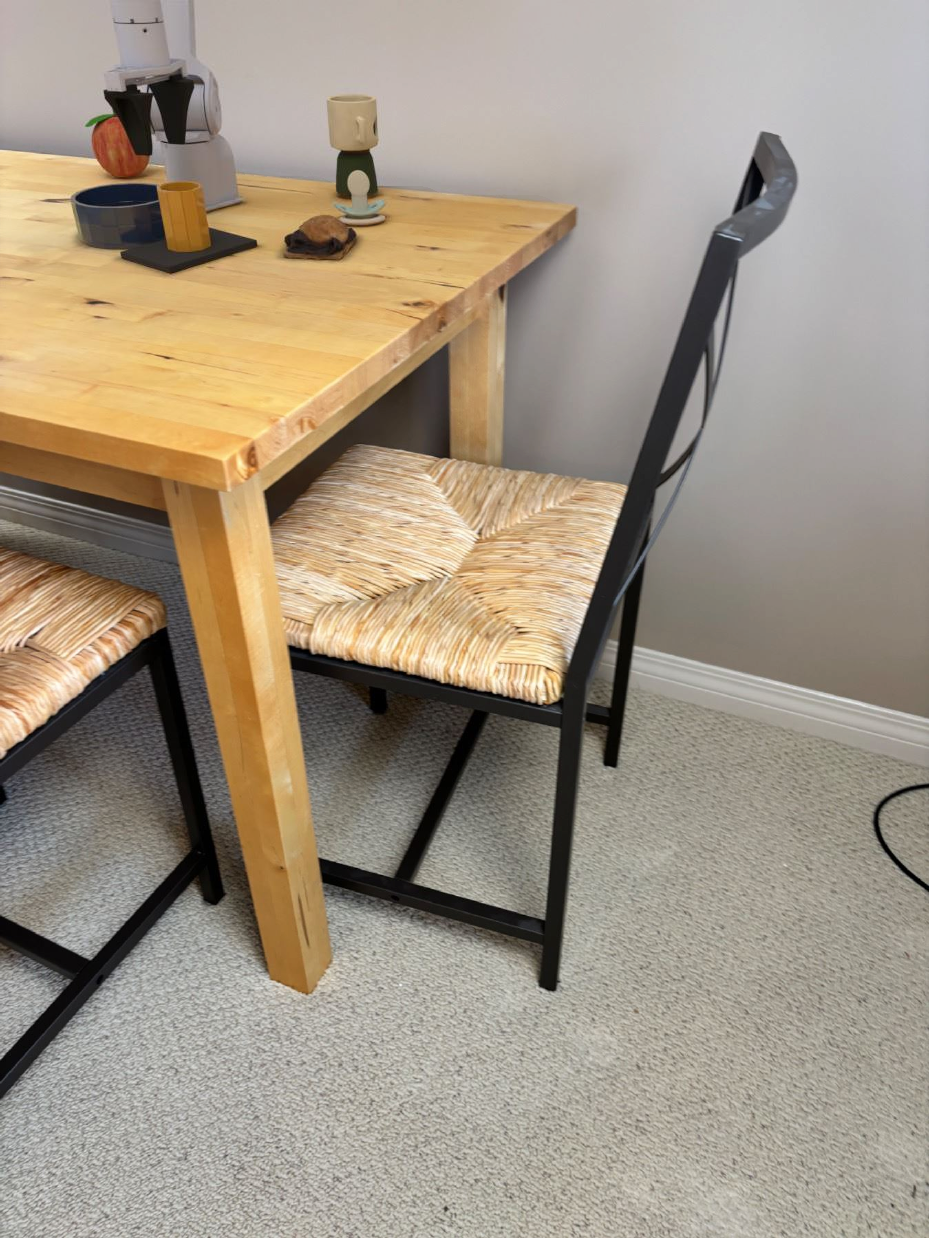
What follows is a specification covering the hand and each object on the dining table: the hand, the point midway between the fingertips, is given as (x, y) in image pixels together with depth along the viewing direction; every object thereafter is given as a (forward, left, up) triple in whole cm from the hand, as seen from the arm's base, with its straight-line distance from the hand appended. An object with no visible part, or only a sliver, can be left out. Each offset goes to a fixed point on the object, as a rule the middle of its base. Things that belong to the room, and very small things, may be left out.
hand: (160, 149), depth 118 cm
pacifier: (-20, +15, -11) cm, 27 cm away
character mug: (-30, +5, -11) cm, 33 cm away
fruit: (-16, -32, -11) cm, 38 cm away
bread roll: (-8, +19, -11) cm, 23 cm away
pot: (+4, -5, -10) cm, 12 cm away
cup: (+4, +7, -10) cm, 13 cm away
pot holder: (+4, +7, -10) cm, 13 cm away
